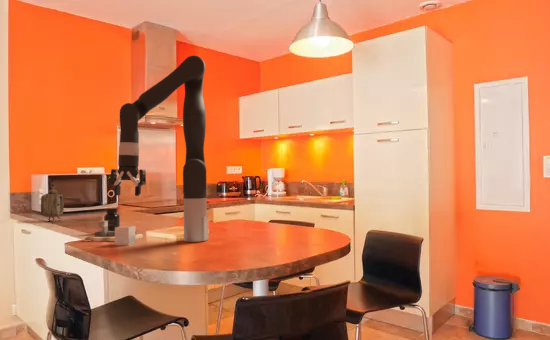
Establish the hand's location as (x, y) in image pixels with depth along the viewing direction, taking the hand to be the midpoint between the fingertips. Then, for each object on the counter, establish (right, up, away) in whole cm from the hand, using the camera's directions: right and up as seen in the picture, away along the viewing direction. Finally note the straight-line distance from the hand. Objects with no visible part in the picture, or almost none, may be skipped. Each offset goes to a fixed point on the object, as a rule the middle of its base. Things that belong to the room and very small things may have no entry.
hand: (127, 195), depth 155 cm
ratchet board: (-10, -19, +12) cm, 25 cm away
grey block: (0, -19, -2) cm, 19 cm away
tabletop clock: (-82, -23, +93) cm, 126 cm away
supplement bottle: (-19, -20, +31) cm, 41 cm away
